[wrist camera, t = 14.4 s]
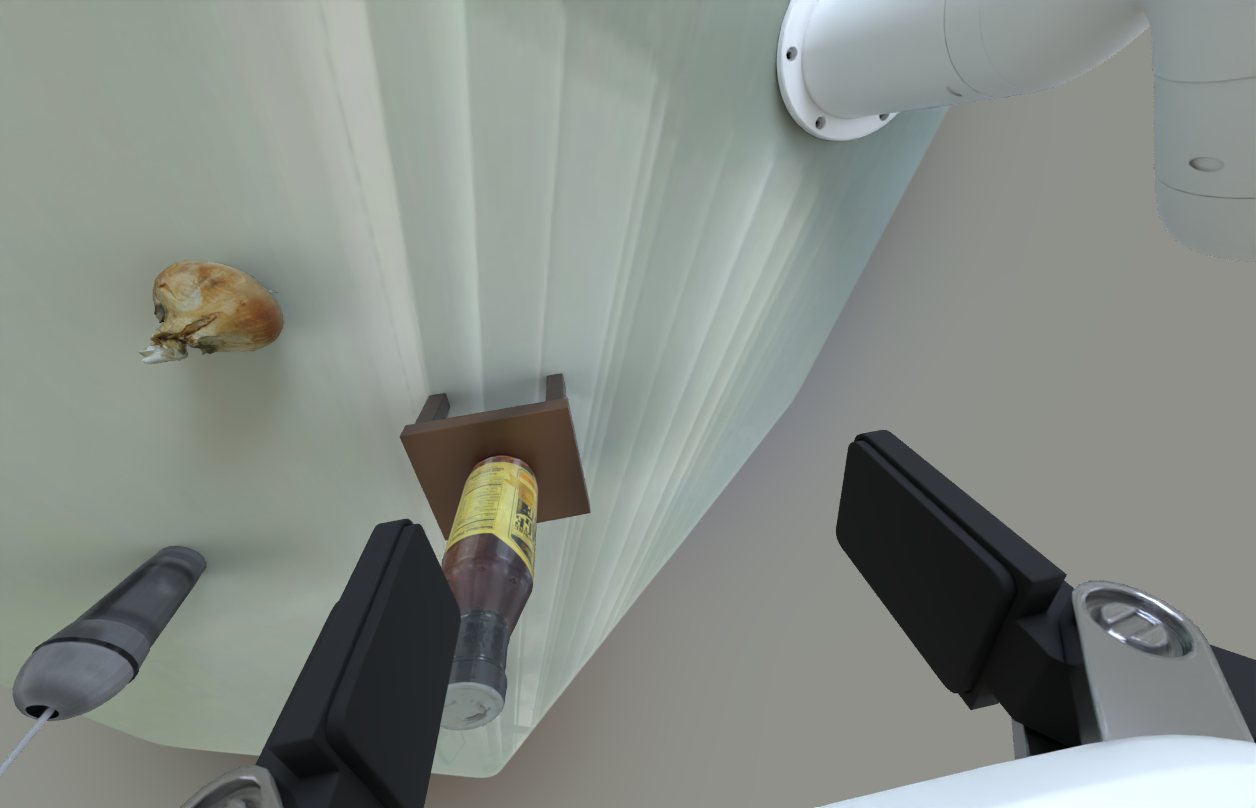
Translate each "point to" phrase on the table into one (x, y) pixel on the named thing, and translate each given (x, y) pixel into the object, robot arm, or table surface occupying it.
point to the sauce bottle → (488, 584)
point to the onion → (210, 312)
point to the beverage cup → (103, 643)
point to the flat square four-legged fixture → (499, 452)
